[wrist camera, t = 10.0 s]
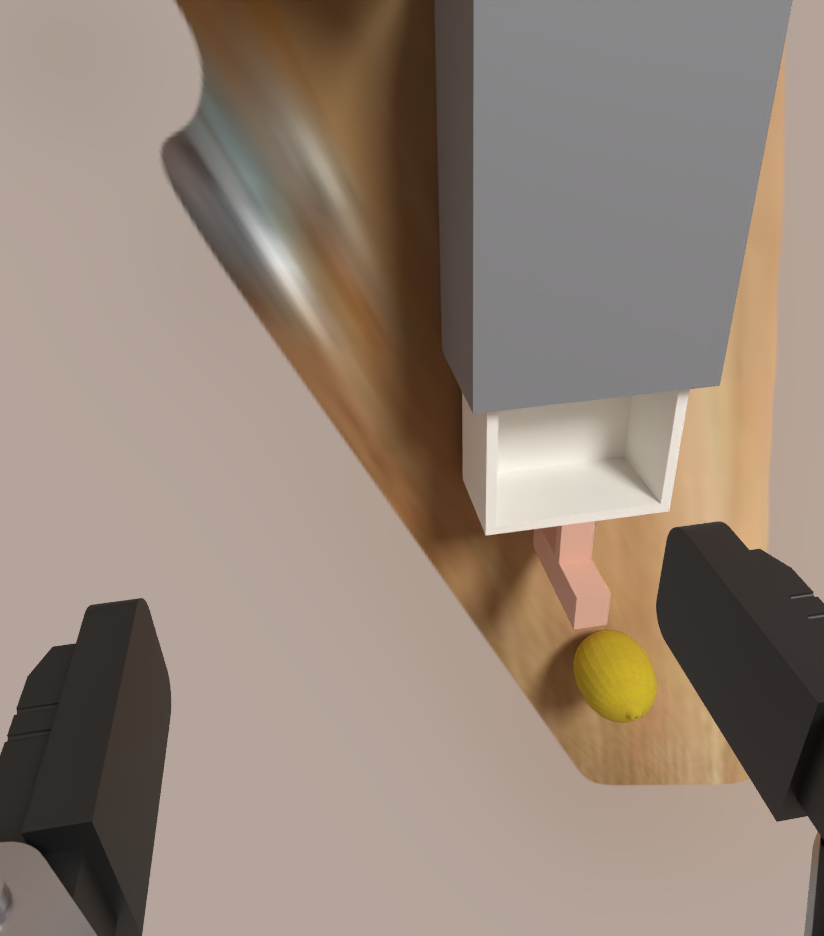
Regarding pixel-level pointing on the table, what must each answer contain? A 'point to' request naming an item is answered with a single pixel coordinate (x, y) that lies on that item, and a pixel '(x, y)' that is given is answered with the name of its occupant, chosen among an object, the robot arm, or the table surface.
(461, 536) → the table surface
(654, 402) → the drawer
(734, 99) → the sleeve
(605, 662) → the lemon
